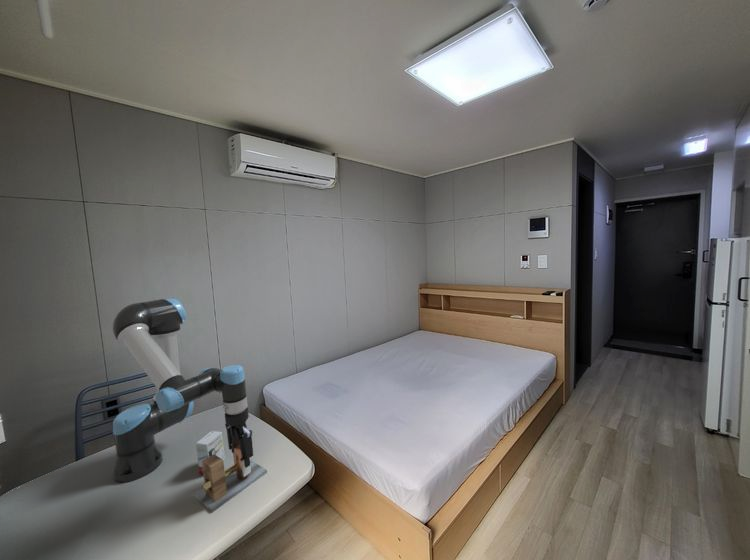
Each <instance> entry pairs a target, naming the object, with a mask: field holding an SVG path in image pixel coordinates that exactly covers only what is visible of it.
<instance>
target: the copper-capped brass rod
mask: <svg viewBox="0 0 750 560" xmlns="http://www.w3.org/2000/svg"><path fill="white" fill-rule="evenodd" d="M234 457H235V465H234V464H233V465H231V466H230V467H229V468H227V469H226V470H225V469H224V471H225V478H226V477H227V476H229V475H230V474H232V473H233V472H235V471H236V475H237V478H238V479H244V478H246V477H247V476H248V475H249V474H250V473H249V474H248V475H246V476H245V477H243V473H242V463H241V458H242V454H241V449H240V445H239V444H238V445H236V446H235V447H234ZM234 457H233V458H234ZM210 487H211V481H208V482H207V483H205V482H204V484H202V490H204V491H206V490H207V489H209V488H210ZM204 491H203V492H204Z"/></svg>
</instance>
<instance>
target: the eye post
mask: <svg viewBox="0 0 750 560" xmlns="http://www.w3.org/2000/svg"><path fill="white" fill-rule="evenodd" d="M202 465H203V473H202V474H203V480H204V482H203V483H204V484H205V483H207V482H208V481H211V487H210V488H209V489H207V490H206V491H203V492H202V493H201V492H200V493H199V494H198V495H197V496H196V500H198V501H199V502H200V503H201V504H202V505H203V506H205V507H206V508H207V510H209V511H210V512H211V513H213V512H215V511H216V510H217V509H219V508H220V507H222V506H223V505H224V504H226V503H227V502H228V501H230V500H232V499H233V498H234V497H235V496H237V495H239V494H240V493H241V492H242V491H244V490H245V489H247V488H248V487H249V486H251V485H252V484H254V483H255V482H256V481H257V480H259V479H260V478H261V477H264V476H265V475H266V474H267V473H268V470H267V468H264V467H263V466H262V465H260V464H258V463H256V462H254V461H253V460H250V467H251V472H250V474H249V475H248V476H247V477H246V478H244V479H238V478H237V475H236V471H235V472H233V473H232V474H230V475H229V476H227V477H226V478H225V464H224V461H223V460H222V459H221V458H219V457H218V456H216V455H215V454H213V455H212V456H210V457H208V458H206V459H205V460H203V461H202Z"/></svg>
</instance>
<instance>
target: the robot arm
mask: <svg viewBox="0 0 750 560" xmlns="http://www.w3.org/2000/svg"><path fill="white" fill-rule="evenodd" d="M186 318H187V314H186V310H185V308H184V306H183V304H182V303H181V302H180V301H179V300H178V299H175V298H160V299H154V300H149V301H143V302H135V303H131V304H129V305H126V306H124V307H123V308H122V309H121V310H119V312H117V314H116V315H115V318H114V319H113V322H112V333H113V335H114V338H115V339H116V341H117V342H118V343H119V344H120V345H122V346H123V345H124V346H125V347H126V348H127V349H128V350H129V352H130V354H131V355H132V356H133V357H134V359H135V360H136V362H137V363H138V364H139V366H140V368H141V369H143V372H145V374H146V375H147V376H148V378H149V379H150V380H151V382H152V383H153V384H154V386H155V387H156V393H155V394H154V396H152V401H153V402H152V404H148V403H140V404H138V405H134V406H131V407H128V408H125V410H122V412H119V414H117V415H116V416H115V418H114V419H113V421H112V434H113V437H114V444H115V451H116V460H115V464H114V467H113V472H112V473H113V480H114V481H115V482H117V483H127V482H132V481H134V480H138V479H140V478H143V477H145V476H146V475H149V474H150V473H152V472H153V471H155V470H156V469H157V468H158V467H160V465H161V464H162V463H163V459H164V458H163V453H162V451H161V449H160V447H159V446H158V445H157V443H156V440H155V436H156V435H157V434H158V433H159V434H160V433H161V432H162V431H165V430H167V429H169V428H171V427H172V426H175V425H177V424H180V423H181V422H183V421H184V420H186V419H188V418H190V416H191V415H192V413H193V410H194V406H195V404H194V403H195V402H194V401H197V400H198V399H201V398H203V397H205V396H207V395H210V394H212V393H214V392H215V393H216V392H217V393H221V394H222V402H223V406H222V409H224V419H225V423H224V425H225V429H226V434H227V435H226V437H227V444H228V449H229V450H230V451H231V453H232V455H233V457H232V458H233V463H234V464H233V465H235V457H234V447H235V446H236V445H238V444H239V445H240V449H241V454H242V458H241V463H242V473H243V477H245V476H246V475H248V474H249V473H250V472H251V467H250V461H251V460H250V459H251V458H252V457H253V456H254V447H253V437H252V436H253V430H252V429H250V430H248V427H247V424H246V423H247V421H248V418H249V407H248V405H249V404H248V396H247V388H246V375H245V371H244V367H243V366H242V365H241V364H231V365H228V366H224V367H223V368H222V369H221V368H218V367H205V368H204V369H202V370H201V372H199V373H198V375H195V376H193V377H190V378H188V379H186V378H185V377H184V376H183V375H182V374H181V368H180V356H179V348H178V347H179V345H178V335H177V334H178V333H179V332H180V331H181V325H183V324H184V323H185V322H186Z"/></svg>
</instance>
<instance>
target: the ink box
mask: <svg viewBox="0 0 750 560" xmlns="http://www.w3.org/2000/svg"><path fill="white" fill-rule="evenodd" d="M195 445H196V446H195V447H196V454H197V465H198V473H199V474H203V465H202V461H203V460H205V459H206V458H208V457H210V456H212V455H213V454H215V455H216V456H218V457H219V458H221V459H222V460H223V462H224V461H225V460H226V457H225V455H226V454H225V449H224V448H225V447H224V446H225V445H224V437H223V432H222V431H219V430H218V431H217V430H211V431H210V432H208V433H207V434H206V435H204V436H203V437H202V438H201V439H199V440H197V442H196V444H195Z"/></svg>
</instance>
